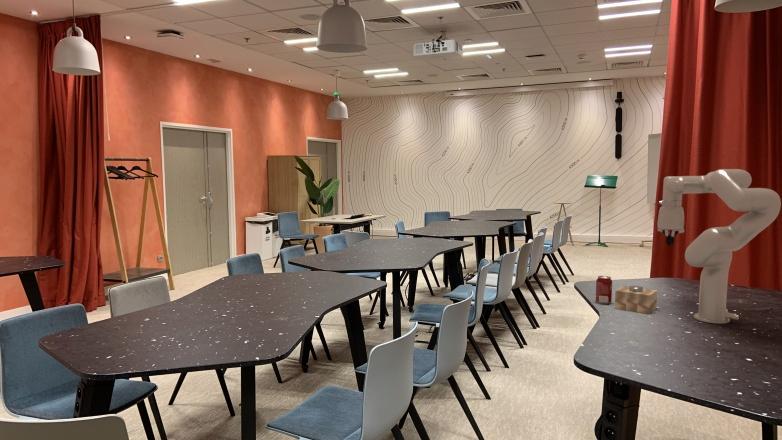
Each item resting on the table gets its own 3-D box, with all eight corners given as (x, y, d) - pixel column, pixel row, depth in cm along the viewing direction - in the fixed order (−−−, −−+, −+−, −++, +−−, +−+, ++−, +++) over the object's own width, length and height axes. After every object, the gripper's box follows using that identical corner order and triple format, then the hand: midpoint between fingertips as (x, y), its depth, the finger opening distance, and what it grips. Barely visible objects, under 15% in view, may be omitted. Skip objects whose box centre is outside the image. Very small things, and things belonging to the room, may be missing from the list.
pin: (644, 307, 238) (644, 286, 237) (640, 309, 234) (641, 289, 233) (630, 304, 241) (631, 285, 241) (626, 307, 237) (627, 287, 236)
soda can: (609, 305, 243) (610, 279, 242) (593, 303, 247) (594, 277, 246) (613, 302, 248) (614, 276, 247) (598, 300, 252) (599, 274, 251)
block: (656, 308, 238) (657, 290, 237) (648, 313, 229) (649, 295, 228) (623, 303, 247) (623, 285, 246) (614, 308, 238) (615, 290, 237)
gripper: (651, 203, 241) (649, 244, 243) (688, 205, 232) (686, 247, 234) (656, 203, 247) (654, 242, 249) (692, 204, 238) (690, 245, 240)
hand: (669, 245), depth 241 cm, fingers closed
